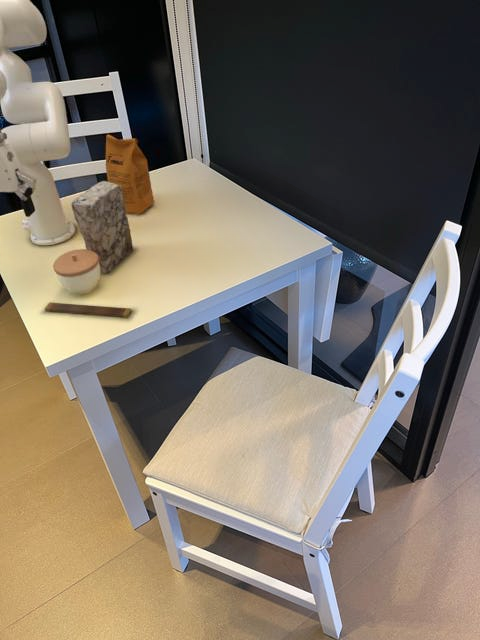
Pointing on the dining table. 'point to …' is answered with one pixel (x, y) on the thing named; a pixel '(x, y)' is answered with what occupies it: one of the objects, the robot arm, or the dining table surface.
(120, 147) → the coffee package
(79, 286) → the trinket box
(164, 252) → the dining table surface
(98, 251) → the stone block
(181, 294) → the dining table surface
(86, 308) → the walnut straight-edge
